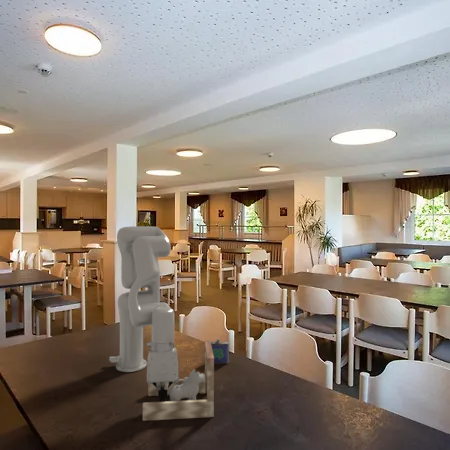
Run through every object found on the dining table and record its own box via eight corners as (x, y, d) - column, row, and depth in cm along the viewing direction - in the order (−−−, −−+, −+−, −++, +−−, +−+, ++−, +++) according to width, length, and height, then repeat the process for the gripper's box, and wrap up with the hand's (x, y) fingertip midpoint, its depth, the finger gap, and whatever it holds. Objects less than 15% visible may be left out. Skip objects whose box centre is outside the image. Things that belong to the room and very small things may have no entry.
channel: (142, 420, 107) (142, 360, 107) (148, 394, 123) (148, 342, 123) (213, 416, 109) (213, 358, 109) (210, 391, 125) (210, 340, 125)
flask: (228, 361, 152) (228, 337, 152) (228, 364, 149) (228, 340, 149) (207, 361, 152) (207, 337, 152) (207, 364, 149) (207, 339, 149)
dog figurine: (207, 401, 118) (207, 370, 118) (174, 413, 111) (174, 380, 111) (199, 395, 123) (199, 365, 123) (166, 406, 115) (167, 374, 115)
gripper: (138, 350, 111) (138, 407, 111) (185, 348, 112) (185, 404, 112) (141, 342, 118) (141, 395, 118) (185, 340, 120) (185, 393, 120)
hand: (162, 399), depth 115 cm, fingers closed
